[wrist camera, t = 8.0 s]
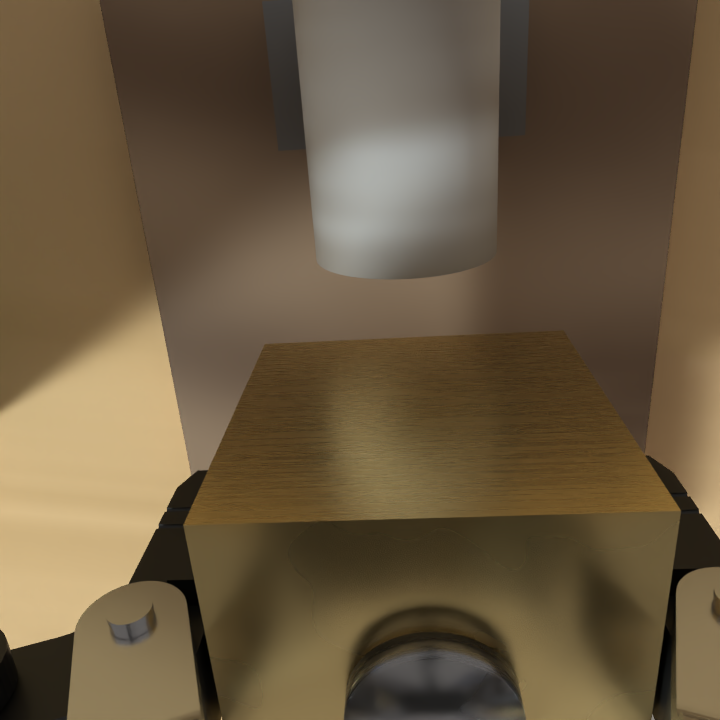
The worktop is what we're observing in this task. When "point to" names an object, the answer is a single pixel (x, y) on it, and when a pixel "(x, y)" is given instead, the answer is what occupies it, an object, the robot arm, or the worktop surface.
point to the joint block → (431, 537)
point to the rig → (402, 178)
